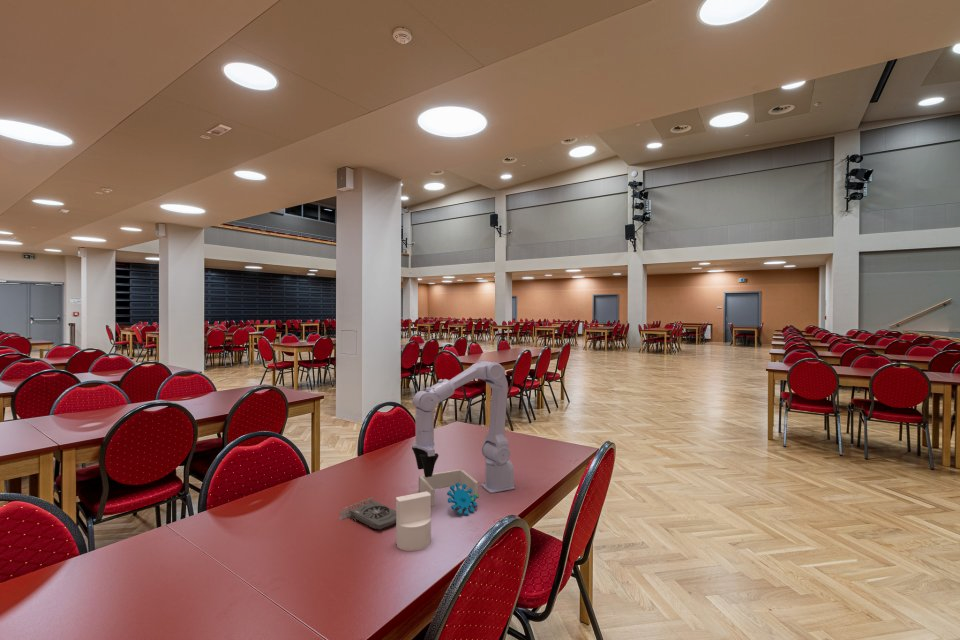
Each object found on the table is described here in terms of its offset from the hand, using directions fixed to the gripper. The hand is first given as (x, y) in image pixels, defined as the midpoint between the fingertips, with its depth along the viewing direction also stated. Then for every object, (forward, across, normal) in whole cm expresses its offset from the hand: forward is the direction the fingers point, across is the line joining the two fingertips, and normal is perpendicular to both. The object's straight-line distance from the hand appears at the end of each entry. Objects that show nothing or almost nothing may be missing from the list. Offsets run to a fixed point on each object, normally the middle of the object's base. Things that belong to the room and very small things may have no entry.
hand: (424, 472), depth 137 cm
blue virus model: (+10, +9, +10) cm, 17 cm away
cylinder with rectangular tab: (+10, +21, -9) cm, 25 cm away
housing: (+10, -4, +9) cm, 14 cm away
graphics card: (+11, +4, -17) cm, 21 cm away
